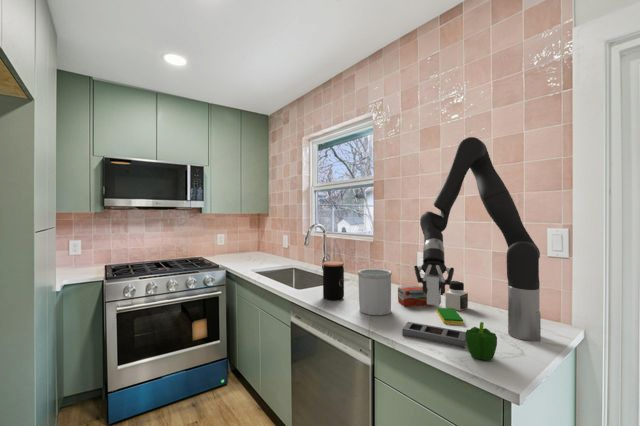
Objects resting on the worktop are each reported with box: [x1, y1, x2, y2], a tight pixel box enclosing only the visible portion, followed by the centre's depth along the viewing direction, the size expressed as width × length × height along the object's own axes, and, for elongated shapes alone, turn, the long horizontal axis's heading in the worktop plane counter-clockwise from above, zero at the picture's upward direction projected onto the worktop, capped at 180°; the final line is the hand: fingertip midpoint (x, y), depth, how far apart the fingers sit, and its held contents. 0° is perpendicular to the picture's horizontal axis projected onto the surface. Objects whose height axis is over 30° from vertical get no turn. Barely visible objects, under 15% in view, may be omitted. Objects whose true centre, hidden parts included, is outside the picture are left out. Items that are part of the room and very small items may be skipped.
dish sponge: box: [436, 307, 464, 326], centre depth 124 cm, size 7×14×2 cm, turn 170°
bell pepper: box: [465, 321, 498, 362], centre depth 91 cm, size 8×8×10 cm
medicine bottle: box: [444, 280, 469, 312], centre depth 137 cm, size 7×7×12 cm
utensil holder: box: [357, 268, 393, 316], centre depth 134 cm, size 15×15×18 cm
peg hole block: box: [401, 321, 467, 349], centre depth 105 cm, size 20×8×2 cm, turn 59°
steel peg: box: [426, 273, 442, 307], centre depth 105 cm, size 4×4×10 cm
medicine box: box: [397, 285, 436, 308], centre depth 144 cm, size 15×8×8 cm, turn 96°
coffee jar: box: [322, 260, 345, 302], centre depth 154 cm, size 11×11×18 cm
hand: (433, 292), depth 104 cm, fingers closed on steel peg, 4 cm apart
